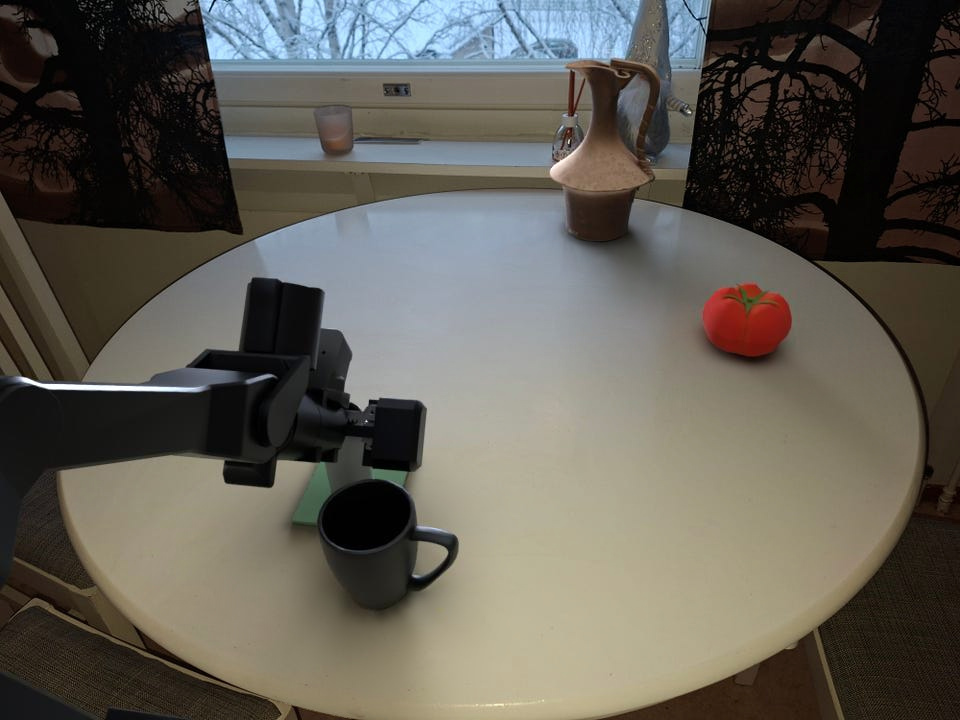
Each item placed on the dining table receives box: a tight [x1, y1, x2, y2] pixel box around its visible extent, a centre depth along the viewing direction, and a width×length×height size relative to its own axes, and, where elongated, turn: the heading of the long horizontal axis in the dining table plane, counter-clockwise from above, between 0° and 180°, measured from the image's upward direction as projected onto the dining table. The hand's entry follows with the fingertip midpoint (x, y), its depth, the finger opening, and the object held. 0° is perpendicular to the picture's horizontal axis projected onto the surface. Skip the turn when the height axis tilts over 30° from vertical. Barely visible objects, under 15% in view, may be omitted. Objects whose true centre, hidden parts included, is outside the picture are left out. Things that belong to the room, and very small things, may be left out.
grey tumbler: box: [324, 401, 374, 494], centre depth 68 cm, size 4×4×10 cm
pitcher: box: [549, 57, 661, 242], centre depth 111 cm, size 18×17×28 cm
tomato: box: [701, 282, 793, 357], centre depth 88 cm, size 11×11×8 cm
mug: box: [316, 479, 460, 611], centre depth 59 cm, size 8×12×10 cm
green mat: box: [291, 462, 409, 527], centre depth 71 cm, size 10×10×1 cm
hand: (348, 432), depth 68 cm, fingers open, 6 cm apart
